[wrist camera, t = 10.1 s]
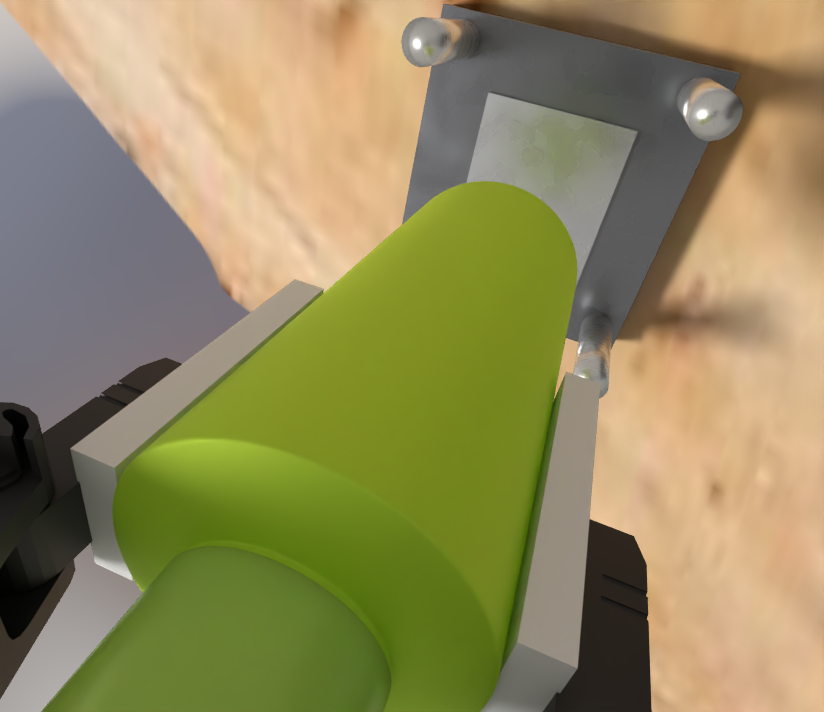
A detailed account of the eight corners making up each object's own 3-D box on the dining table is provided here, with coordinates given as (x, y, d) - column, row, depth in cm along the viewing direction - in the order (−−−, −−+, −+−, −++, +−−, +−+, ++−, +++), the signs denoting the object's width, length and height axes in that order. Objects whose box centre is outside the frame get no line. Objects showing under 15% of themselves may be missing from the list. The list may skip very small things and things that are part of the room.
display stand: (452, 4, 26) (397, -3, 20) (735, 71, 24) (772, 85, 18) (400, 270, 34) (349, 324, 28) (610, 339, 32) (605, 414, 25)
